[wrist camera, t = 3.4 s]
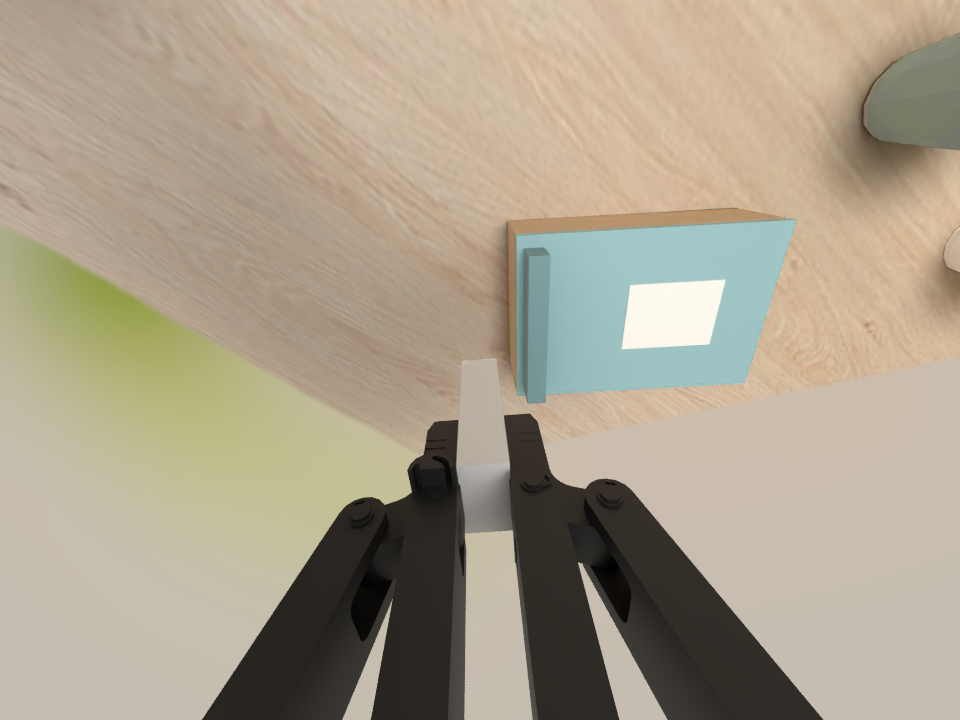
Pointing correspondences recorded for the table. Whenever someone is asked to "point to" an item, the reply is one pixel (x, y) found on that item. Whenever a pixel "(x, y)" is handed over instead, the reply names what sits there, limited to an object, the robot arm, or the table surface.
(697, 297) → the lid
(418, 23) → the table surface
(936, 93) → the disposable coffee cup
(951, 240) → the foam cup
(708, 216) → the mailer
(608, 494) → the robot arm
